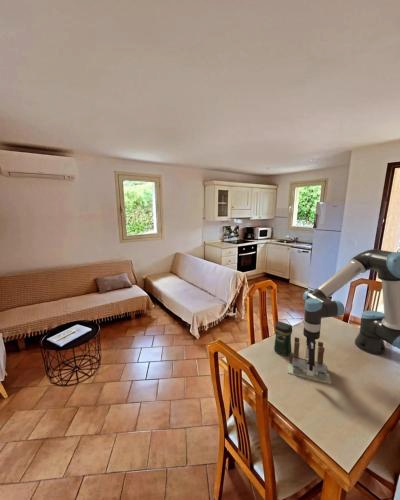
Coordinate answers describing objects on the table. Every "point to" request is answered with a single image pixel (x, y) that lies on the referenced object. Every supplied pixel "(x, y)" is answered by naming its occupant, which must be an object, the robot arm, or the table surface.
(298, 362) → the rail
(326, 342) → the table surface
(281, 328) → the coffee jar
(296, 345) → the rack
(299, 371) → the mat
